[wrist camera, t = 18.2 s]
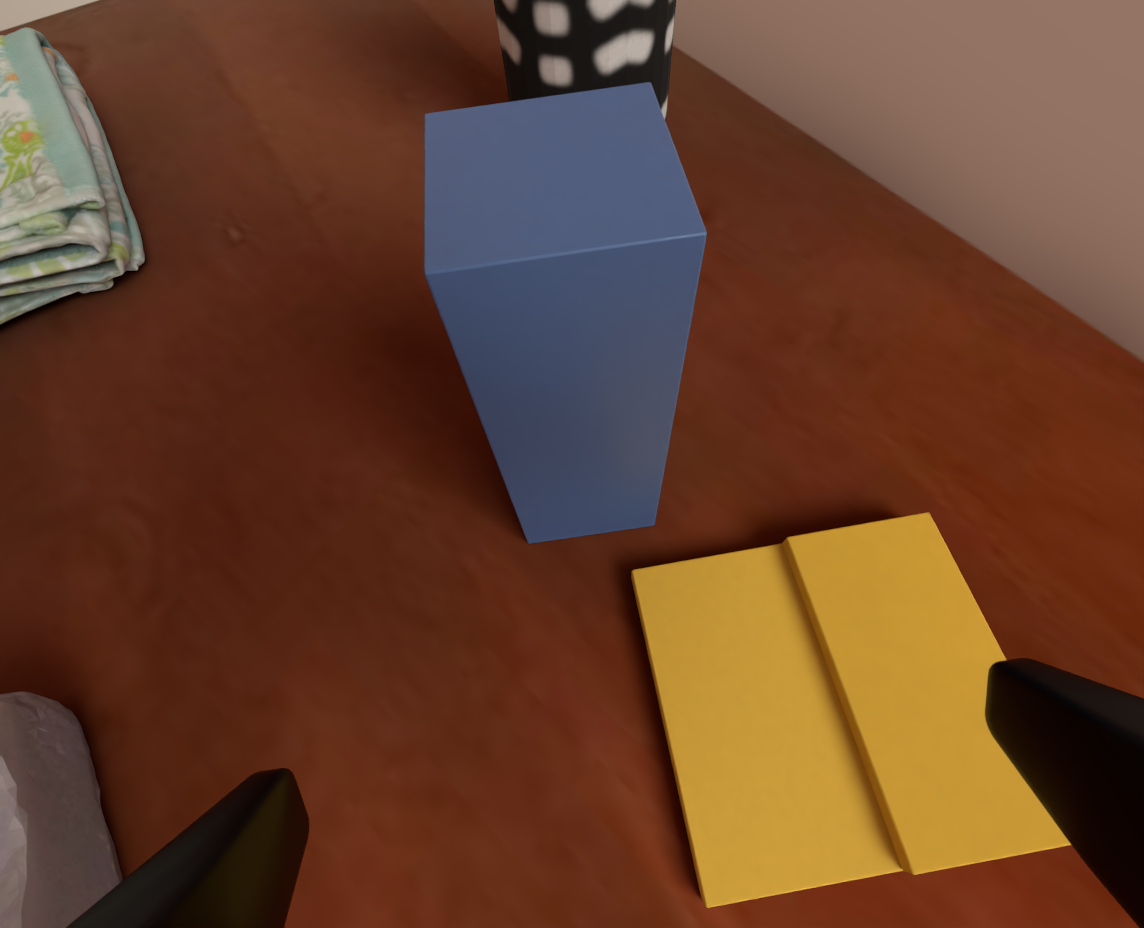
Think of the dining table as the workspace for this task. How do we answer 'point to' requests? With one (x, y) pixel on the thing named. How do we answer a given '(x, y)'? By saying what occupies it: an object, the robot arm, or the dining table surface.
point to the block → (566, 295)
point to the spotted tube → (585, 45)
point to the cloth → (832, 712)
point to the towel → (55, 184)
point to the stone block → (49, 817)
